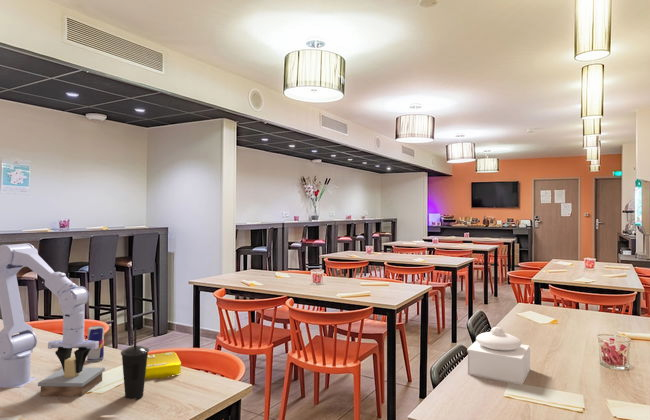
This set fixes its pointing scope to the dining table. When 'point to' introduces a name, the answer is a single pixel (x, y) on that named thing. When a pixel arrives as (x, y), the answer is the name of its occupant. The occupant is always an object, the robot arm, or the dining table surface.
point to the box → (70, 389)
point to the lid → (71, 375)
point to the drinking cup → (134, 369)
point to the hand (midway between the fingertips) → (73, 371)
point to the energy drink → (98, 335)
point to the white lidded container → (499, 357)
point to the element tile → (162, 365)
